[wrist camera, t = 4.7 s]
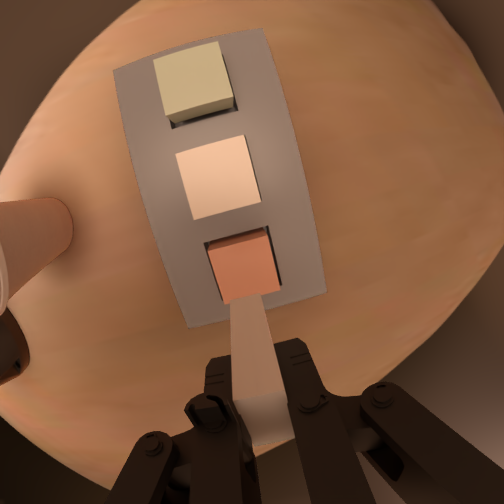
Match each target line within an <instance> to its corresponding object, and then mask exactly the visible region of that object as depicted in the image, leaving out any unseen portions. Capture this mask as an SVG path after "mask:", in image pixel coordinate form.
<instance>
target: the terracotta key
mask: <svg viewBox="0 0 504 504" xmlns="http://www.w3.org/2000/svg"><path fill="white" fill-rule="evenodd" d="M208 254H209V258H210V261H211V264H212V267H213V270H214V273H215V276H216V280H217V283H218V286H219V289H220V292H221V295H222V298H223V301H224V304H229V303H230V300H233V299H237V298H241V297H245V296H249V295H253V294H257V293H260V294H261V295H264V294H268V293H271V292H275V291H279V290H280V285H279V281H278V277H277V273H276V268H275V264H274V260H273V256H272V252H271V248H270V244H269V239H268V235H267V234H266V232H265V230H264V229H263V227H260V228H256V229H252V230H249V231H245V232H241V233H237V234H234V235H230V236H226V237H223V238H219V239H215V240H212V241H210V244H209V248H208Z"/></svg>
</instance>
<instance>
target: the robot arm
mask: <svg viewBox="0 0 504 504" xmlns="http://www.w3.org/2000/svg"><path fill="white" fill-rule="evenodd" d="M230 330H231V355H227V356H222V357H217V358H212V359H211V360H210V362H209V363H208V365H207V367H206V373H205V386H204V393H202V394H199V395H197V396H195V397H194V398H192V399H191V400H190V401H189V402H188V403H187V404H186V407H185V409H184V411H185V413H186V415H187V416H188V418H189V419H190V421H191V422H192V424H193V426H194V427H193V428H192V429H190V430H188V431H186V432H184V433H181V434H178V435H175V436H172V437H170V436H169V435H168V434H167V433H164V432H161V431H153V432H150V433H146V434H145V435H143V436H142V437H140V439H139V440H138V441H137V442H136V444H135V446H134V448H133V450H132V451H131V453H130V455H129V457H128V459H127V461H126V463H125V465H124V467H123V468H122V470H121V472H120V474H119V476H118V478H117V480H116V482H115V484H114V486H113V488H112V489H111V491H110V493H109V495H108V497H107V499H106V501H105V503H104V504H262V499H261V491H260V484H259V476H258V469H257V460H256V457H255V455H254V453H253V448H252V443H253V445H254V447H255V446H260V445H266V444H271V443H275V442H280V441H284V440H289V439H293V438H295V439H296V443H297V447H298V451H299V455H300V459H301V463H302V467H303V471H304V475H305V479H306V483H307V487H308V491H309V495H310V500H311V503H312V504H376V502H375V499H374V497H373V494H372V492H371V489H370V487H369V484H368V482H367V479H366V477H365V474H364V472H363V470H362V467H361V465H360V462H359V460H358V457H357V455H356V453H355V452H361V453H362V455H363V456H364V457H365V458H366V459H367V460H368V462H369V463H370V464H371V465H372V466H373V467H374V468H375V470H376V471H377V472H378V473H379V474H380V475H381V476H382V477H383V479H384V480H385V481H386V482H387V483H388V484H389V485H390V486H391V488H392V489H393V490H394V491H395V492H396V493H397V494H398V495H399V496H400V497H401V498H402V499H403V501H404V502H405V503H407V504H504V470H503V469H502V468H501V467H499V466H498V465H497V464H495V463H494V462H493V461H492V460H490V459H489V458H488V457H487V456H485V455H484V454H483V453H481V452H480V451H479V450H478V449H477V448H475V447H474V446H473V445H471V444H470V443H469V442H468V441H466V440H465V439H464V438H463V437H461V436H460V435H459V434H458V433H456V432H455V431H454V430H453V429H451V428H450V427H449V426H448V425H446V424H445V423H444V422H443V421H441V420H440V419H439V418H438V417H436V416H435V415H434V414H432V413H431V412H430V411H429V410H428V409H426V408H425V407H424V406H423V405H421V404H420V403H419V402H418V401H417V400H415V399H414V398H413V397H412V396H410V395H409V394H408V393H407V392H406V391H404V390H403V389H402V388H401V387H399V386H398V385H396V384H394V383H390V382H379V383H375V384H373V385H370V386H369V387H368V388H366V389H365V390H364V391H363V393H362V395H360V396H349V397H341V396H337V395H334V394H332V393H330V392H329V391H327V390H326V389H325V387H324V385H323V383H322V381H321V378H320V376H319V374H318V371H317V369H316V366H315V364H314V362H313V360H312V357H311V355H310V353H309V350H308V348H307V345H306V343H304V342H303V341H301V340H300V339H299V338H294V339H291V340H287V341H283V342H279V343H275V344H273V341H272V337H271V334H270V330H269V326H268V322H267V318H266V314H265V310H264V306H263V302H262V298H261V294H260V293H257V294H253V295H249V296H245V297H241V298H237V299H233V300H230ZM28 364H29V352H28V347H27V344H26V341H25V338H24V336H23V334H22V332H21V330H20V328H19V326H18V324H17V322H16V321H15V319H14V318H13V316H12V315H11V313H10V312H9V310H8V309H7V308H6V309H5V311H4V312H3V313H2V315H0V385H2V384H4V383H6V382H8V381H10V380H12V379H14V378H16V377H18V376H20V375H21V374H22V372H23V371H24V370H25V369H26V367H27V366H28Z"/></svg>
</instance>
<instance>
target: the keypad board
mask: <svg viewBox="0 0 504 504" xmlns="http://www.w3.org/2000/svg"><path fill="white" fill-rule="evenodd" d="M217 41H218V44H219V47H220V50H221V54H222V57H223V61H224V64H225V68H226V71H227V75H228V78H229V82H230V86H231V89H232V93H233V96H234V97H233V107H232V108H228V109H224V110H220V111H216V112H212V113H209V114H205V115H201V116H198V117H194V118H191V119H188V120H185V121H181V122H178V123H174V122H172V121H171V120H170V119H169V118H168V117H166V115H165V111H164V107H163V103H162V98H161V94H160V90H159V85H158V81H157V76H156V72H155V67H154V62H153V60H154V59H157V58H160V57H163V56H166V55H169V54H172V53H175V52H179V51H182V50H185V49H189V48H192V47H196V46H200V45H204V44H208V43H212V42H217ZM113 74H114V80H115V86H116V91H117V97H118V102H119V107H120V112H121V117H122V122H123V126H124V131H125V135H126V140H127V144H128V148H129V152H130V156H131V160H132V164H133V168H134V172H135V175H136V179H137V183H138V186H139V190H140V193H141V197H142V200H143V203H144V207H145V210H146V213H147V217H148V220H149V223H150V226H151V229H152V232H153V235H154V238H155V241H156V244H157V247H158V250H159V253H160V256H161V259H162V262H163V264H164V267H165V270H166V273H167V275H168V278H169V281H170V284H171V286H172V289H173V291H174V294H175V297H176V299H177V302H178V304H179V307H180V309H181V312H182V314H183V317H184V319H185V321H186V324H187V326H188V329H190V328H195V327H199V326H204V325H208V324H212V323H217V322H221V321H225V320H229V319H230V303H229V304H224V301H223V298H222V295H221V292H220V289H219V286H218V283H217V280H216V276H215V273H214V270H213V267H212V264H211V261H210V258H209V254H208V248H209V244H210V241H212V240H215V239H219V238H223V237H226V236H230V235H234V234H237V233H241V232H245V231H249V230H252V229H256V228H260V227H263V229H264V230H265V232H266V234H267V235H268V239H269V244H270V248H271V252H272V256H273V260H274V264H275V268H276V273H277V277H278V281H279V285H280V290H279V291H275V292H271V293H268V294H264V295H261V298H262V302H263V306H264V310H268V309H272V308H276V307H279V306H283V305H287V304H290V303H294V302H297V301H301V300H304V299H308V298H311V297H314V296H318V295H321V294H324V293H327V289H326V282H325V276H324V270H323V264H322V258H321V252H320V247H319V241H318V236H317V231H316V226H315V220H314V215H313V211H312V206H311V201H310V196H309V192H308V187H307V183H306V178H305V174H304V169H303V165H302V161H301V157H300V153H299V149H298V145H297V141H296V137H295V133H294V129H293V126H292V122H291V118H290V114H289V111H288V107H287V104H286V100H285V97H284V93H283V90H282V87H281V83H280V80H279V77H278V73H277V70H276V67H275V64H274V61H273V58H272V55H271V52H270V49H269V46H268V43H267V40H266V37H265V34H264V31H263V28H259V29H252V30H246V31H240V32H234V33H229V34H224V35H219V36H215V37H210V38H206V39H202V40H198V41H194V42H191V43H187V44H184V45H180V46H177V47H174V48H170V49H167V50H164V51H161V52H158V53H156V54H153V55H150V56H147V57H145V58H142V59H139V60H137V61H134V62H132V63H129V64H127V65H125V66H122V67H120V68H118V69H115V70H113ZM241 135H244V137H245V141H246V145H247V148H248V152H249V156H250V160H251V164H252V168H253V171H254V175H255V179H256V183H257V187H258V191H259V195H260V199H261V202H259V203H255V204H251V205H248V206H244V207H240V208H236V209H233V210H229V211H225V212H222V213H218V214H214V215H211V216H207V217H204V218H200V219H197V220H194V219H193V216H192V212H191V209H190V205H189V202H188V198H187V195H186V191H185V188H184V184H183V181H182V177H181V174H180V170H179V166H178V162H177V159H176V155H175V154H177V153H180V152H183V151H186V150H190V149H193V148H196V147H200V146H203V145H207V144H210V143H214V142H217V141H221V140H225V139H229V138H233V137H237V136H241Z"/></svg>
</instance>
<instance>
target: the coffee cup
mask: <svg viewBox="0 0 504 504" xmlns="http://www.w3.org/2000/svg"><path fill="white" fill-rule="evenodd" d="M72 236H73V222H72V218H71V215H70V212H69V210H68V209H67V207H66V206H65V205H64V204H63V203H62V202H61V201H60V200H58V199H55V198H41V199H30V200H19V201H10V202H1V203H0V315H2V313H3V312H4V311H5V309H6V306H7V302H8V300H9V299H10V298H11V297H12V296H13V295H14V294H15V293H16V292H17V291H18V290H19V289H20V288H21V287H22V286H24V285H25V284H26V283H27V282H28V281H29V280H30V279H31V278H32V277H34V276H35V275H36V274H37V273H38V272H39V271H41V270H42V269H43V268H44V267H45V266H46V265H48V264H49V263H50V262H51V261H52V260H54V259H55V258H56V257H57V256H59V255H60V254H61V253H62V252H64V251H65V250H66V249H67V248H68V246H69V245H70V243H71V240H72Z"/></svg>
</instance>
